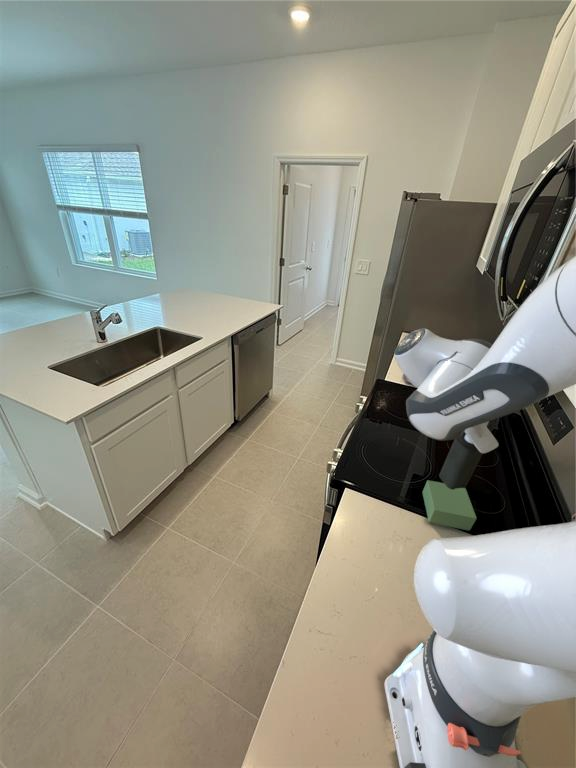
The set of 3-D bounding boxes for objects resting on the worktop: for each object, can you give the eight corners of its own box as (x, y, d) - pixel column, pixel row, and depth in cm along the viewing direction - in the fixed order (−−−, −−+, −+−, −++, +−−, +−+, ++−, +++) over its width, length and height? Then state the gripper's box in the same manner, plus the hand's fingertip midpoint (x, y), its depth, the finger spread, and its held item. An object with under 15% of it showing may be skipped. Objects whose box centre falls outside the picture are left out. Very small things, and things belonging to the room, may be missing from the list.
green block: (469, 530, 78) (476, 518, 76) (428, 522, 80) (434, 510, 77) (459, 499, 87) (465, 487, 84) (422, 492, 88) (427, 480, 86)
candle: (449, 490, 74) (490, 404, 61) (437, 474, 78) (472, 391, 65) (468, 487, 75) (511, 403, 62) (454, 472, 79) (492, 390, 66)
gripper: (489, 415, 54) (520, 459, 59) (442, 363, 71) (469, 400, 76) (455, 433, 56) (488, 474, 61) (418, 378, 74) (445, 414, 79)
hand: (477, 433), depth 69 cm, fingers closed on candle, 3 cm apart
